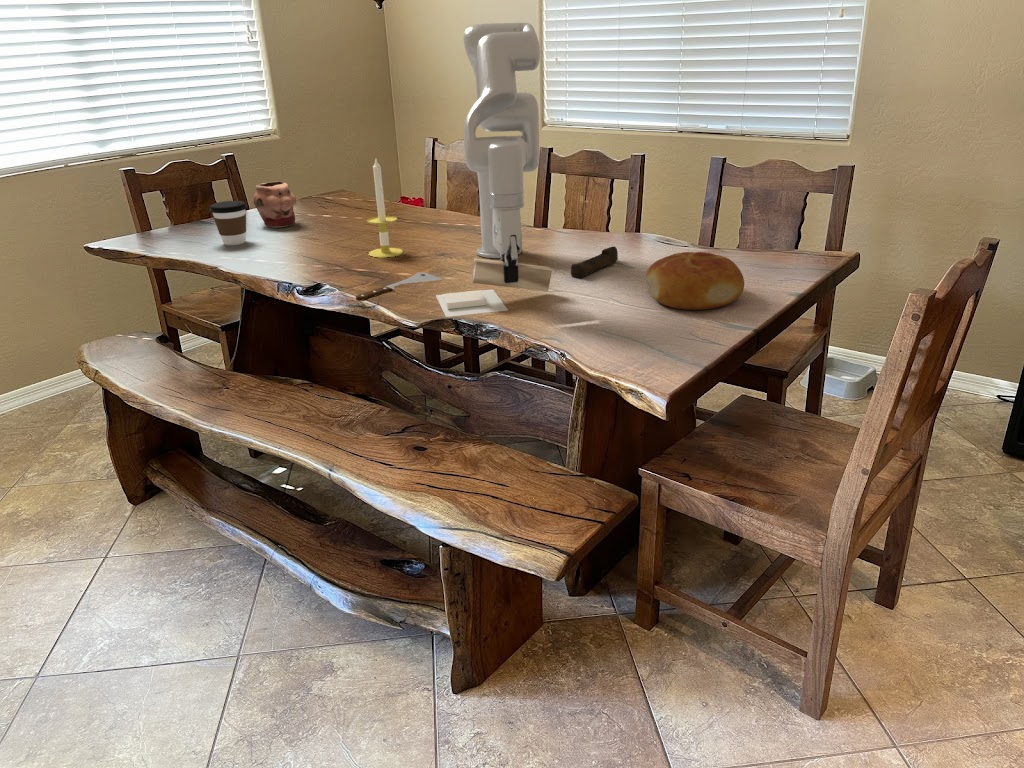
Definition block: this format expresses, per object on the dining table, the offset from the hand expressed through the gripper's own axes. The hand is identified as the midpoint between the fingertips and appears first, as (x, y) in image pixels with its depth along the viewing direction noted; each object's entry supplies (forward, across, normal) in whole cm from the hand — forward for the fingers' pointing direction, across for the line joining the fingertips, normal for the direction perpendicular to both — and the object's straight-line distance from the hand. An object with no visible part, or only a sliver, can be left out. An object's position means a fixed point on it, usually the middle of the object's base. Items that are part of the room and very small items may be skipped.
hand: (509, 279), depth 180 cm
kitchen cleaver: (+6, -18, -24) cm, 30 cm away
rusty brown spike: (+6, -18, +27) cm, 33 cm away
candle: (+5, -53, -24) cm, 59 cm away
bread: (+6, +11, +41) cm, 42 cm away
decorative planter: (+5, -103, -56) cm, 117 cm away
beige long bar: (+1, 0, 0) cm, 1 cm away
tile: (+4, 0, -6) cm, 7 cm away
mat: (+5, 0, -9) cm, 11 cm away
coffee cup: (+5, -82, -68) cm, 107 cm away
